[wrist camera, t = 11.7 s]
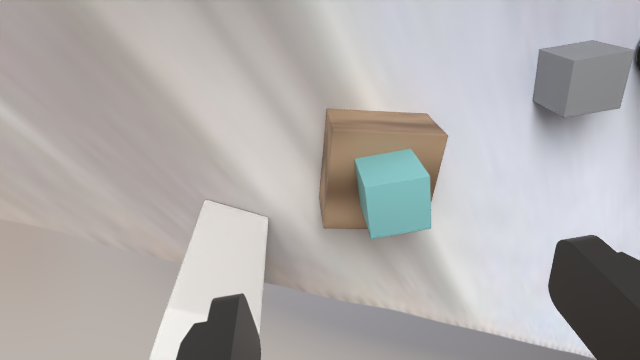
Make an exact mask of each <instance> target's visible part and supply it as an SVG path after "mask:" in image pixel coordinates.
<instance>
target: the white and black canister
mask: <svg viewBox="0 0 640 360" xmlns="http://www.w3.org/2000/svg"><path fill="white" fill-rule="evenodd" d="M636 60H637V66H638V69H639V70H640V44H639V47H638V50H637V57H636Z"/></svg>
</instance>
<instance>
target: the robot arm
mask: <svg viewBox="0 0 640 360" xmlns="http://www.w3.org/2000/svg"><path fill="white" fill-rule="evenodd" d="M548 287H549V293H550V297H551V299H552V302H553V304H554V305H555V307H556V308H557V310H558V311H559V312H560V314H561V315H562V316H563V317H564V319H565V320H566V321H567V322H568V324H569V325H570V326H571V327H572V329H573V330H574V331H575V333H576V334H577V335H578V336H579V338H580V339H581V340H582V341H583V343H584V344H585V345H586V346H587V348H588V349H589V350H590V351H591V353H592V354H593V355H594V356H595V358H596V359H597V360H640V261H639V260H637V259H635V258H633V257H631V256H629V255H627V254H625V253H623V252H619V253H617V252H616V251H614V250H613V249H612V248H611V247H610V246H609V245H607V244H606V243H605V242H604V241H603V240H602V239H600V238H599V237H597V236H594V235H588V236H582V237H577V238H571V239H565V240H560V241H559V242H558V243H557V245H556V249H555V254H554V259H553V264H552V269H551V274H550V279H549V284H548ZM260 358H261V348H260V339H259V334H258V331H257V328H256V325H255V322H254V319H253V316H252V313H251V311H250V308H249V305H248V302H247V299H246V297H245V295H244V294H243V293H241V294H235V295H229V296H223V297H217V298H214V299H213V300H212V302H211V305H210V309H209V314H208V318H207V321H205V322H199V323H194V324H193V326H192V327H191V328H190V330H189V331H188V333H187V334H186V336H185V337H184V339H183V340H182V342H181V343H180V347H179V350H178V354H177V357H176V360H261V359H260Z"/></svg>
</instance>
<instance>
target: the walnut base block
mask: <svg viewBox="0 0 640 360" xmlns="http://www.w3.org/2000/svg"><path fill="white" fill-rule="evenodd" d="M447 138H448V135H447V134H446V133H445V132H444V131H443V130H442V129H441V128H440V127H439V126H438V125H437V124H436V123H435V122H434V121H433V120H432V119H431V118H430V117H429V116H428V115H427V114H423V113H403V112H382V111H362V110H341V109H327V112H326V123H325V135H324V146H323V158H322V169H321V180H320V192H319V200H320V207H321V214H322V221H323V228H340V229H368V228H367V225H366V222H365V218H364V215H363V212H362V209H361V205H360V197H359V189H358V182H357V174H356V166H355V159H357V158H362V157H368V156H373V155H379V154H384V153H390V152H395V151H401V150H407V149H412V151H413V152H414V154H415V155H416V156H417V158H418V159H419V161H420V162H421V164H422V165H423V167H424V168H425V169H426V171H427V172H428V174H429V175H430V199H431V200H432V197H433V193H434V189H435V185H436V181H437V177H438V173H439V169H440V165H441V161H442V157H443V154H444V150H445V146H446V142H447Z"/></svg>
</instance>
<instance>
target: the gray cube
mask: <svg viewBox="0 0 640 360" xmlns="http://www.w3.org/2000/svg"><path fill="white" fill-rule="evenodd" d="M634 51H635V50H631V49H627V48H623V47H619V46H614V45H610V44H606V43H602V42H597V41H593V40H591V41H586V42H580V43H574V44H568V45H562V46H557V47H551V48H545V49H539V57H538V64H537V72H536V79H535V87H534V94H533V101H534V102H536V103H538V104H539V105H541V106H543V107H545V108H547V109H549V110H550V111H552V112H554V113H556V114H558V115H560V116H562V117H563V118H566V117H572V116H578V115H583V114H589V113H595V112H601V111H607V110H613V109H619V108H620V106H621V102H622V98H623V94H624V90H625V86H626V82H627V79H628V75H629V71H630V67H631V63H632V59H633V55H634Z"/></svg>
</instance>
